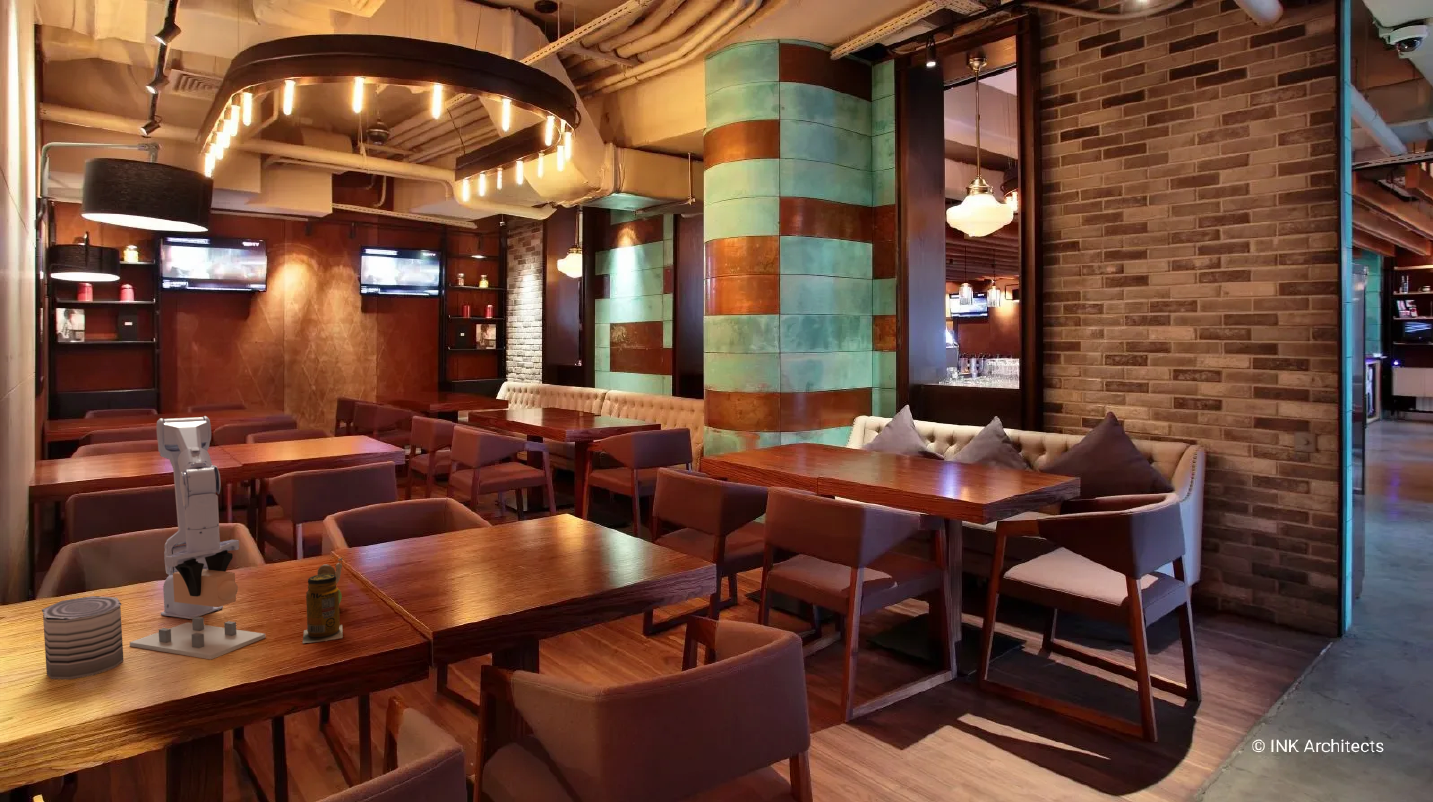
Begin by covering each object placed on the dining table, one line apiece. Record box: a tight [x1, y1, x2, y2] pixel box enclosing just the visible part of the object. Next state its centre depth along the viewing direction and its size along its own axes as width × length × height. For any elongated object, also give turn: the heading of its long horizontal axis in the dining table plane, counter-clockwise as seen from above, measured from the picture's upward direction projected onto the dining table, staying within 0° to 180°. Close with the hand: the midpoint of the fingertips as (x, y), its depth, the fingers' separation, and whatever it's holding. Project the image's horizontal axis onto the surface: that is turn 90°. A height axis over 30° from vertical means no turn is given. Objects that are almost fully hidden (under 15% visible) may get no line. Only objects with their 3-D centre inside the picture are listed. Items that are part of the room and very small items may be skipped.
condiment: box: [302, 574, 344, 644], centre depth 162 cm, size 7×8×12 cm
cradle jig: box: [129, 616, 266, 660], centre depth 159 cm, size 22×12×3 cm, turn 71°
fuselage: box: [173, 569, 239, 607], centre depth 160 cm, size 14×4×6 cm, turn 72°
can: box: [41, 595, 124, 681], centre depth 146 cm, size 11×11×12 cm
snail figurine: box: [317, 557, 343, 604], centre depth 178 cm, size 5×6×12 cm
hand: (205, 592), depth 160 cm, fingers closed on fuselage, 4 cm apart
